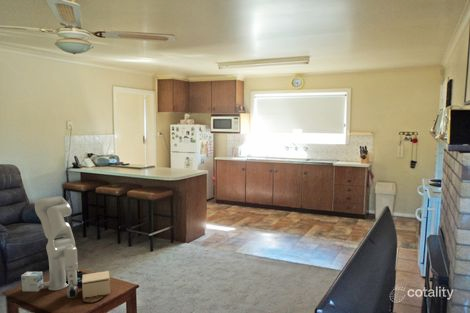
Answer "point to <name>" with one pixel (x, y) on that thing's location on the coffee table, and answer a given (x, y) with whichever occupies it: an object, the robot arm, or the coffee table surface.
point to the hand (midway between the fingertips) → (73, 293)
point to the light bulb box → (32, 281)
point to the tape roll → (75, 292)
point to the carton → (96, 288)
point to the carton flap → (95, 277)
